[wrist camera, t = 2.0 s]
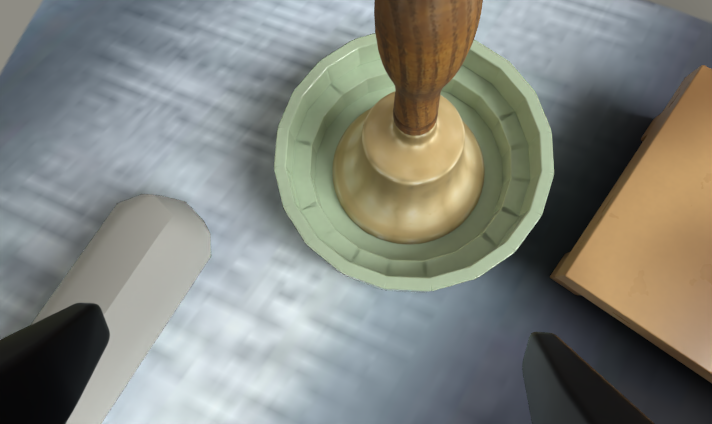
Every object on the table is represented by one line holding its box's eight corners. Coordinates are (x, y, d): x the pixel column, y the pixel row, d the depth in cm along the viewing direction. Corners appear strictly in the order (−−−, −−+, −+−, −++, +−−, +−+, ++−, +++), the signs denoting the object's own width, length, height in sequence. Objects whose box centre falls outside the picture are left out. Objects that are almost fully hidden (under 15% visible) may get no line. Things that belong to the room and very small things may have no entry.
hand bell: (438, 273, 22) (573, 205, 6) (305, 197, 23) (132, -19, 7) (510, 142, 23) (779, -201, 7) (379, 77, 24) (366, -327, 9)
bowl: (579, 201, 22) (615, 183, 19) (375, 341, 21) (373, 350, 18) (434, 26, 25) (442, -18, 21) (249, 144, 24) (226, 118, 21)
